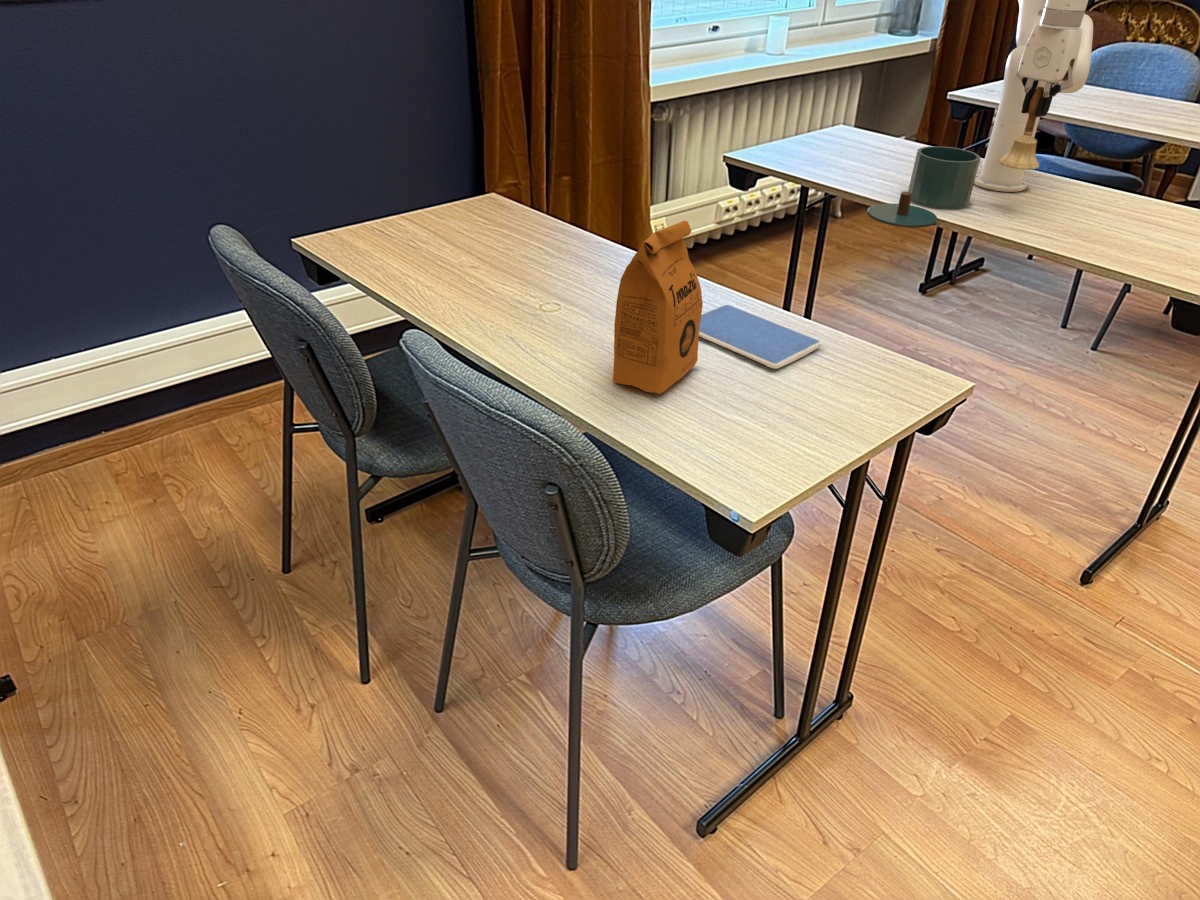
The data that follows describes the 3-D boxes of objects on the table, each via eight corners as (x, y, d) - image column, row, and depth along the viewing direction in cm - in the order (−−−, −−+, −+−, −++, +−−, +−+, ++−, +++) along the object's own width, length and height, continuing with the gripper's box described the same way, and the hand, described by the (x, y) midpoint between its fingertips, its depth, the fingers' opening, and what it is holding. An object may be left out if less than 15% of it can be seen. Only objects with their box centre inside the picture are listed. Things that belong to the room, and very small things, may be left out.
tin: (894, 195, 202) (904, 150, 196) (934, 188, 208) (945, 143, 203) (940, 212, 193) (952, 165, 187) (980, 204, 199) (993, 157, 193)
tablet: (676, 330, 138) (676, 322, 137) (726, 309, 145) (726, 301, 144) (774, 373, 126) (775, 365, 126) (822, 348, 134) (824, 340, 133)
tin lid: (852, 214, 190) (857, 188, 187) (899, 205, 196) (904, 180, 193) (902, 234, 180) (909, 207, 176) (950, 224, 186) (957, 198, 183)
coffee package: (707, 371, 126) (723, 225, 114) (659, 404, 118) (671, 250, 106) (651, 351, 131) (661, 209, 119) (602, 381, 123) (607, 231, 111)
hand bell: (1003, 168, 186) (1026, 90, 177) (995, 157, 193) (1017, 81, 184) (1043, 171, 185) (1068, 93, 176) (1034, 160, 192) (1057, 84, 183)
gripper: (1015, 14, 177) (990, 108, 187) (1086, 25, 166) (1056, 125, 176) (1038, 12, 180) (1012, 104, 191) (1110, 23, 169) (1078, 121, 179)
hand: (1033, 113), depth 183 cm, fingers closed on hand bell, 2 cm apart
